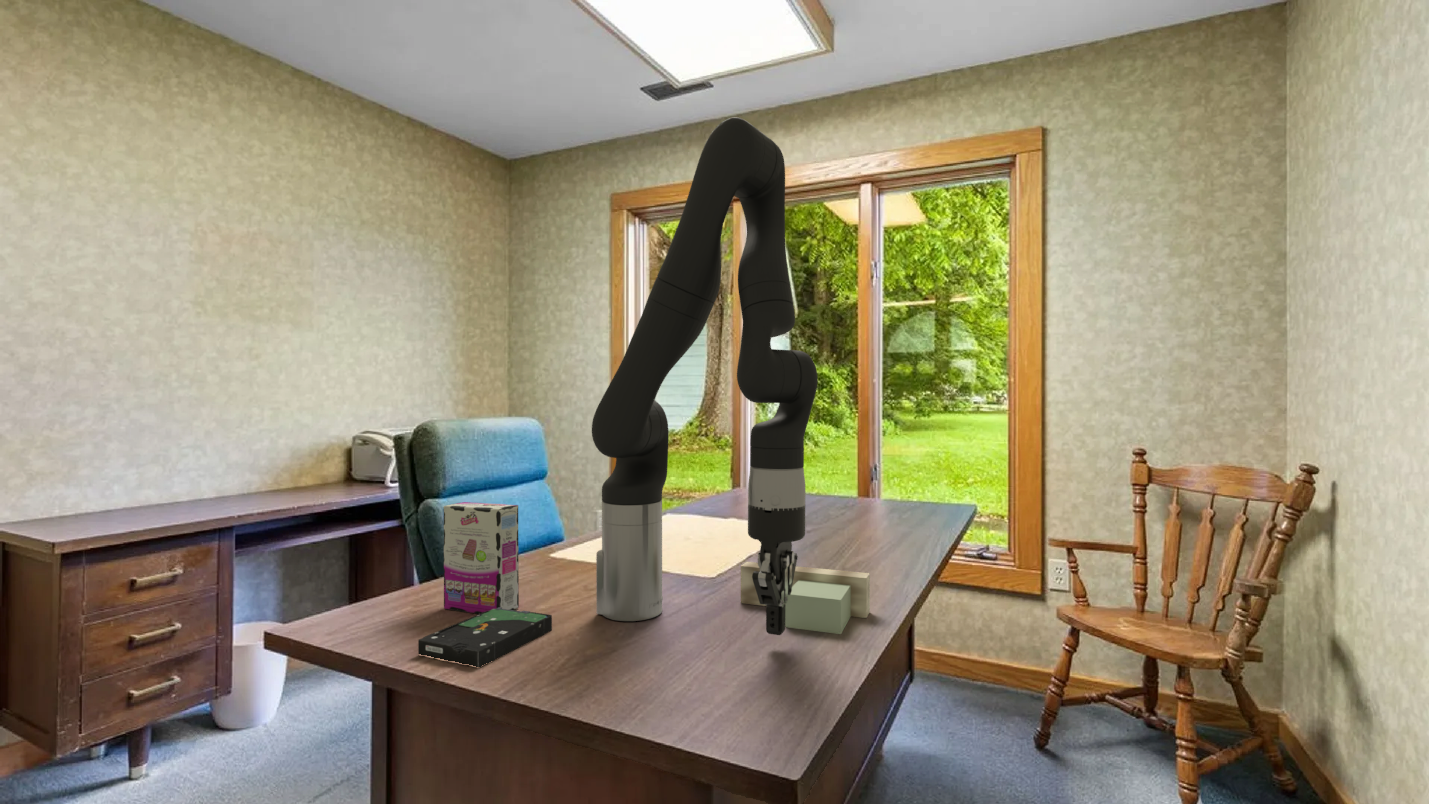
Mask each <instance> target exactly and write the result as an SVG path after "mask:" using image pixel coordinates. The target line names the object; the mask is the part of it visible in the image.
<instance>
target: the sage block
mask: <svg viewBox="0 0 1429 804" xmlns="http://www.w3.org/2000/svg"><path fill="white" fill-rule="evenodd" d="M785 604H786V606H785V628H789V629H796V630H806V631H811V632H821V633H830V634H837V635H841V634H842V633H843V631H844V630H845V628H846V625H847V624H848V622H849V620H850V619H851V618H852V616H851V585H845V584H835V583H826V582H816V581H806V580H798V581H797V582H796V583H795V584H794V585H793V587H792V592H791V594H790V595H788V601H787V603H785Z"/></svg>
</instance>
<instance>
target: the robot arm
mask: <svg viewBox="0 0 1429 804" xmlns="http://www.w3.org/2000/svg"><path fill="white" fill-rule="evenodd" d="M785 164H786V163H785V157H784V155H783V152H782V150H781V148H780V146H778V144H777V143H776V142H775V141H773V139H771V138H770V137H768V135H766V134H765V133H763V132H762V131H761V130H760V129H758V128H757V127H755V126H754V125H752V123H750V122H749V121H747V120H746V119H744V118H741V117H736V116H735V117H734V116H732V117H730V118H729V117H728V118H726V119H725V120H723V121H721V122H720V123H719V124H718V125H717V126H715V128H714V129H713V130H712V132H711V133H710V134H709V136H708V137H707V140H706V141H705V144H704V146H703V147H702V150H701V153H700V156H699V160H698V163H697V164H696V168H695V172H694V175H693V179H692V183H691V185H690V189H689V191H688V195H687V198H686V202H685V204H684V207H683V210H682V214H681V217H680V219H679V222H678V224H677V226H676V230H675V232H674V235H673V237H672V241H671V243H670V245H669V248H668V251H667V253H666V256H665V258H664V261H663V263H662V265H661V267H660V269H659V271H658V273H657V276H656V278H655V280H654V283H653V285H652V288H651V290H650V292H649V295H648V298H647V300H646V302H645V305H644V307H643V310H642V313H641V316H640V318H639V320H638V323H637V325H636V327H635V330H634V332H633V334H632V336H631V338H630V342H629V344H628V347H627V349H626V351H625V352H624V356H623V357H622V360H621V362H620V364H619V366H618V368H617V370H616V372H615V374H614V375H613V378H612V380H611V381H610V383H609V385H608V386H607V388H606V390H605V392H604V394H603V396H602V397H601V399H600V401H599V404H598V405H597V407H596V410H595V413H594V415H593V418H592V423H591V436H592V441H593V444H594V446H595V447H596V448H597V450H598V452H599V453H601V454H602V455H603V456H606V457H609V458H613V459H615V466H614V468H613V471H612V473H611V474H610V476H609V477H608V478H607V479H606V480H605V481H604V482H603V484H602V486H601V549H599V550H598V551H597V552H596V557H595V559H596V569H595V571H596V573H595V574H596V576H595V577H596V614H597V615H602V616H603V617H605V618H607V619H609V620H613V621H619V622H636V621H637V622H638V621H645V620H646V621H647V620H649V619H653V618H655V617H657V616H659V615H661V613H662V612H663V489H664V487H665V484H666V481H667V476H668V463H669V461H668V459H669V437H670V436H669V435H670V434H669V422H668V418H667V414H666V412H665V410H664V408H663V406H661V404H660V403H659V402H657V401H656V397H657V395H658V393H659V390H660V388H661V387H662V384H663V382H664V380H665V379H666V377H667V376H668V374H669V373H670V372H671V370H672V369H673V368H674V366H676V364H677V363H678V362H679V361H680V360H681V359H682V358H683V357H684V355H685V354H686V353H687V352H688V351H689V349H690V348H691V347H692V346H693V344H694V343H695V342H696V341H697V339H698V337H699V336H700V335H701V333H702V331H703V330H704V328H705V325H706V324H707V322H708V319H709V316H710V314H711V312H712V310H713V308H714V305H715V302H716V300H717V298H718V295H719V292H720V289H721V288H720V287H721V280H722V279H721V278H722V253H721V251H722V247H721V246H722V245H721V243H722V232H723V226H724V222H725V220H726V218H727V214H728V211H729V209H730V206H731V203H732V202H733V199H734V197H736V198H737V199H739V202H740V205H741V207H742V211H743V215H744V219H745V224H746V237H745V243H744V247H743V251H742V252H741V257H740V261H739V265H738V270H737V289H738V295H739V296H738V297H739V304H740V311H741V319H742V330H741V338H740V347H739V354H738V355H739V357H738V361H737V367H736V381H737V385H738V387H739V390H740V391H741V393H742V395H743V396H744V397H745V398H746V400H748V401H749V402H752V403H757V404H779V405H778V407H777V410H776V412H775V414H774V416H773V417H772V418H770V419H768V420H763V421H761V422H757V423H756V424H754V425H753V427H752V428H751V431H750V444H749V445H750V451H749V452H750V464H749V475H748V484H747V534H748V536H749V537H750V538H751V539H753V540H757V541H758V542H760V550H759V552H758V553H757V563H758V566H759V568H760V571H754V572H753V574H752V579H753V582H754V586H755V589H756V592H757V595H758V599H759V602H760V604H764V605H766V606H765V609H766V611H765V613H766V614H765V617H766V618H765V619H766V620H765V622H766V623H765V631H766V632H767V633H768V634H769V635H773V636H774V635H776V636H781V635H782V634H783V633H784V632H785V630H786V627H785V606H786V604H784V603H787V601H788V595H790V594H791V592H792V585H793V579H794V573H795V568H796V566H797V562H798V558H799V557H798V554H797V553H796V552H795V551H794V550H793V544H792V543H793V542H797V541H801V540H803V539H804V538H805V535H806V477H805V469H804V465H805V462H804V461H805V459H804V458H805V448H804V447H805V434H806V430H807V426H808V423H809V420H810V415H811V411H812V407H813V404H814V402H815V397H816V392H817V389H818V379H819V378H818V371H817V367H816V364H815V362H814V360H813V358H812V357H811V355H809V354H808V353H806V352H804V351H802V350H796V349H795V350H794V349H774V348H772V345H771V339H772V338H776V337H781V336H782V335H783V336H784V335H785V334H787V333H789V332H791V330H792V329H793V328H794V326H795V323H796V315H795V307H794V300H793V294H792V289H791V288H792V287H791V283H790V275H789V270H788V269H789V268H788V262H787V261H788V260H787V250H786V248H787V247H786V219H785V218H786V205H785V204H786V165H785Z"/></svg>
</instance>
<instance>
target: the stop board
mask: <svg viewBox="0 0 1429 804" xmlns="http://www.w3.org/2000/svg"><path fill="white" fill-rule="evenodd" d="M754 571H760V568H759V566H758V562H755V561H745V562H744V563H743V564H741V565H740V604H745V605H746V604H747V605H755V606H763V607H766V605H764V604H760V602H759V599H758V595H757V592H756V589H755V586H754V582H753V579H752V574H753V572H754ZM870 575H871V574H870V573H869V572H858V571H850V570H849V571H848V570H838V569H828V568H817V567H809V566H808V567H807V566H806V567H805V566H798V565H796V568H795V573H794V579H793V585H794V584H795V583H796V582H797V581H798V580H806V581H816V582H826V583H835V584H845V585H851V617H854V618H863V619H867V618H868V616H869V615H870V612H871V611H870V603H871V601H870V599H871V597H870V596H871V595H870V592H871V590H870V586H871V584H870V581H871V580H870V578H871V577H870ZM793 585H792V587H793ZM784 604H785V603H784Z"/></svg>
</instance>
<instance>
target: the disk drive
mask: <svg viewBox="0 0 1429 804" xmlns="http://www.w3.org/2000/svg"><path fill="white" fill-rule="evenodd" d="M552 630H553V616H552V614H547V613H542V612H541V613H539V612H536V611H535V612H534V611H529V610H528V611H527V610H521V611H520V610H507V609H502V607H498V608H497V609H492V610H490V611H485V612H483V613H481V614H477V615H474V616H471V617H468V618H467V619H464V620H461V621H459V622H457V623H454V624H452V625H450V626H447V627H444V628H441V629H440V630H437V631H435V632H432V633H429V634H428V635H426V636H423V637H422V638H420V639H418V645H417V647H418V648H417V651H418V654H421V655H427V656H431V657H434V658H440V659H444V660H448V661H455V662H459V663H462V664H469V665H473V666H476V667H481V666H482V665H484V664H486V663H489V662H491V661H493V662H495V659H496V660H497V658H498V659H499V658H501V657H503V655H504V656H505V655H507V654H509V653H511V652H513V651H515V650H517V649H519V648H520V647H523V646H524V645H527V644H528V643H530V642H532V641H534V640H536V639H538V638H540V637H542V636H544V635H546V634H548V633H550V632H552ZM491 663H492V662H491ZM489 664H490V663H489ZM486 665H487V664H486ZM484 666H485V665H484ZM482 667H483V666H482ZM482 667H481V668H482Z"/></svg>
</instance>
